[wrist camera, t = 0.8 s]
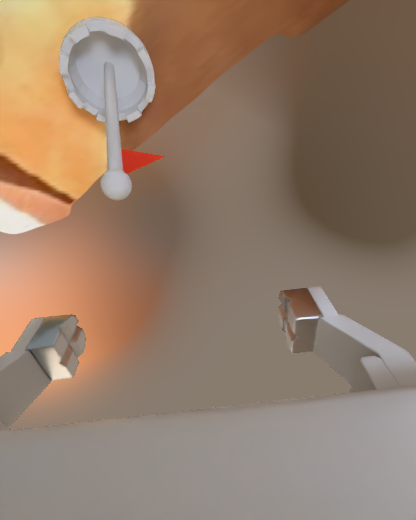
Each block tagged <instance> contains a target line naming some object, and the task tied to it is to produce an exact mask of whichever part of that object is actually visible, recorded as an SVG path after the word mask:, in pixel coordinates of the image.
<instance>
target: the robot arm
mask: <svg viewBox="0 0 416 520" xmlns="http://www.w3.org/2000/svg"><path fill="white" fill-rule="evenodd" d="M279 299H280V302H281V305H280V306H279V321H280V325H281V328H282V330H283V331H284V332H286V341H287V344H288V347H289V349H290V352H291V353H300V352H312V351H314V353H315V354H316V355H317V356H318V357H319V358H320V359H321V360H323V361H324V362H325V363H326V364H327V365H328V366H329V367H331V368H332V369H333V370H334V371H335V372H336V373H337V374H339V375H340V376H341V377H342V378H343V379H344V380H345V381H347V382H348V383H349V384H350V385H351V388H350V391H349V393H341V394H332V395H324V396H314V397H305V398H296V399H288V400H278V401H269V402H260V403H251V404H242V405H233V406H224V407H215V408H206V409H197V410H189V411H180V412H170V413H161V414H152V415H143V416H134V417H125V418H116V419H106V420H97V421H88V422H79V423H70V424H61V425H52V426H43V427H35V428H26V429H16V430H11V429H10V428H9V427H10V426H11V425H12V424H13V423H14V422H15V421H16V420H17V418H18V417H19V416H20V415H21V414H22V413H23V412H24V411H25V410H26V409H27V408H28V406H29V405H30V404H31V403H32V402H33V401H34V400H35V399H36V398H37V397H38V396H39V395H40V393H41V392H42V391H43V390H44V389H45V388H46V387H47V386H48V385H49V384H50V383H51V381H52V380H59V379H67V378H73V377H74V375H75V372H76V369H77V367H78V364H79V361H78V359H77V358H78V356H80V355H81V354H82V353H83V351H84V348H85V342H86V338H85V333H84V331H83V329H82V328H80V327H78V326H77V323H78V320H77V318H76V316H75V315H60V316H49V317H41V318H34V319H33V320H31V321H30V323H29V324H28V326H27V327H26V329H25V330H24V332H23V333H22V335H21V336H20V338H19V339H18V341H17V342H16V344H15V346H14V347H13V349H12V350H11V352H7V353H5V354H3V355H2V356H1V357H0V520H416V362H415V360H414V359H413V358H412V356H411V355H410V354H409V353H408V352H407V351H406V350H404V349H403V348H401V347H399V346H397V345H395V344H394V343H392V342H390V341H388V340H386V339H385V338H383V337H381V336H379V335H378V334H376V333H374V332H372V331H371V330H369V329H367V328H365V327H364V326H362V325H360V324H358V323H356V322H354V321H353V320H351V319H349V318H347V317H345V316H344V315H338V313H337V312H336V310H335V309H334V307H333V306H332V304H331V302H330V301H329V299H328V298H327V296H326V294H325V293H324V291H323V290H322V288H321V287H320V286H314V287H306V288H300V289H291V290H283V291H280V294H279Z"/></svg>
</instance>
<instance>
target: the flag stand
mask: <svg viewBox="0 0 416 520" xmlns="http://www.w3.org/2000/svg"><path fill="white" fill-rule="evenodd" d="M59 71H60V74H61V75H62V78H63V81H64V83H65V85H66V88H67V90H68V92H67V94H68V96H69V97H70V98H71V100H72V101H73V103H74V104H75V105H76V106H77V107H78V108H79V109H81V108H82V107H83V108H84V109H85V110H86V111H88V112H89V113H91V114H93V115H95V116H96V120H98V121H101V122H103V123H106V137H107V163H108V171H107V172H106V173H105V174H104V175H103V176H102V178H101V189H102V191H103V193H104V194H105V195H106V196H107V197H109V198H111V199H113V200H122V199H124V198H126V197H127V196H128V195H129V194H130V192H131V189H132V183H131V180H130V178H129V176H128V175H127V173H130V172H132V171H134V170H136V169H138V168H140V167H143V166H145V165H147V164H149V163H151V162H153V161H156V160H158V159H160V158H162V157H164V156H159V155H153V154H147V153H141V152H135V151H129V150H123V149H121V140H120V128H119V121H121V120H126V119H127V120H128V122H131V121H134V120H136V119H137V118H139V117H140V116H142V113H141V111H142V110H143V109H144V108H145V107H146V106H147V104H148V103H149V102H152V99H153V96H154V92H155V83H154V71H153V65H152V62H151V59H150V56H149V54H148V51H147V50H146V48H145V46H144V45H143V43H142V41H141V40H140V39H139V38H138V37H137V36H136V34H135V33H134V32H132V31H131V30H130V29H129V28H127V27H126V26H125V25H123V24H121V23H119V22H117V21H115V20H112V19H108V18H102V17H93V18H87V19H84V20H82V21H80V22H78V23H76V24H75V25H74V26H73V27H72V28H71V29H70V30H69V31H68V33H67V34H66V36H65V37H64V40H63V43H62V46H61V50H60V57H59Z"/></svg>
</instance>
